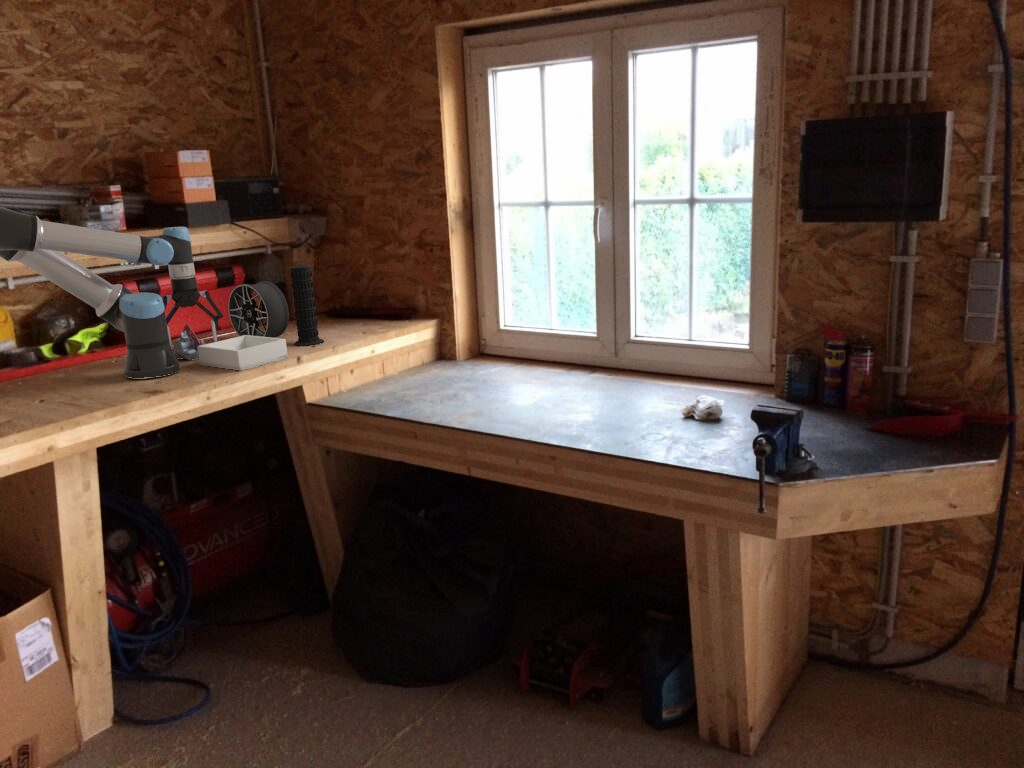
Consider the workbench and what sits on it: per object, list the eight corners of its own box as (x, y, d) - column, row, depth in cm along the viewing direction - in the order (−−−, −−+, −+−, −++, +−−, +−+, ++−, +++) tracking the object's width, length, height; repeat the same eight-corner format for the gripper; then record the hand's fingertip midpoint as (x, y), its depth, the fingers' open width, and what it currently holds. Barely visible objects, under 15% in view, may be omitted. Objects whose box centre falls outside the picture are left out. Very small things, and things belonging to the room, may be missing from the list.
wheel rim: (232, 340, 297) (224, 283, 292) (253, 335, 305) (246, 279, 300) (271, 345, 286) (264, 285, 281) (292, 339, 294) (285, 281, 289)
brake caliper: (219, 347, 274) (195, 322, 266) (199, 374, 269) (173, 349, 261) (198, 344, 281) (174, 320, 273) (178, 370, 276) (152, 346, 268)
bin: (240, 371, 250) (237, 351, 249) (200, 365, 261) (197, 346, 259) (287, 358, 264) (285, 339, 263) (247, 353, 275) (245, 334, 274)
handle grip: (319, 345, 281) (328, 339, 290) (310, 264, 274) (319, 261, 284) (289, 346, 282) (299, 340, 291) (279, 266, 275) (290, 262, 285)
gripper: (141, 283, 258) (152, 351, 263) (226, 273, 269) (235, 340, 274) (138, 280, 264) (150, 347, 270) (222, 271, 275) (231, 336, 281)
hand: (193, 344), depth 272 cm, fingers open, 13 cm apart
